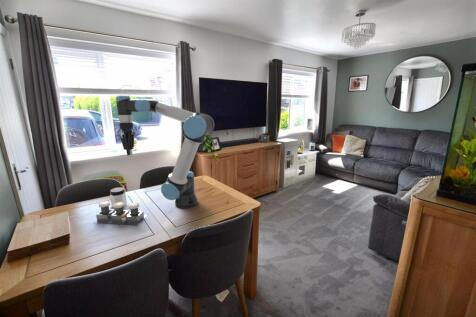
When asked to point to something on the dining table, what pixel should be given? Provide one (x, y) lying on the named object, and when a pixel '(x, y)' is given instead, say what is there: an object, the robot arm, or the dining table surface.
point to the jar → (118, 196)
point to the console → (119, 218)
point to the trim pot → (123, 218)
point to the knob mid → (119, 208)
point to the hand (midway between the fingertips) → (130, 159)
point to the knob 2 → (134, 208)
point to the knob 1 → (104, 207)
